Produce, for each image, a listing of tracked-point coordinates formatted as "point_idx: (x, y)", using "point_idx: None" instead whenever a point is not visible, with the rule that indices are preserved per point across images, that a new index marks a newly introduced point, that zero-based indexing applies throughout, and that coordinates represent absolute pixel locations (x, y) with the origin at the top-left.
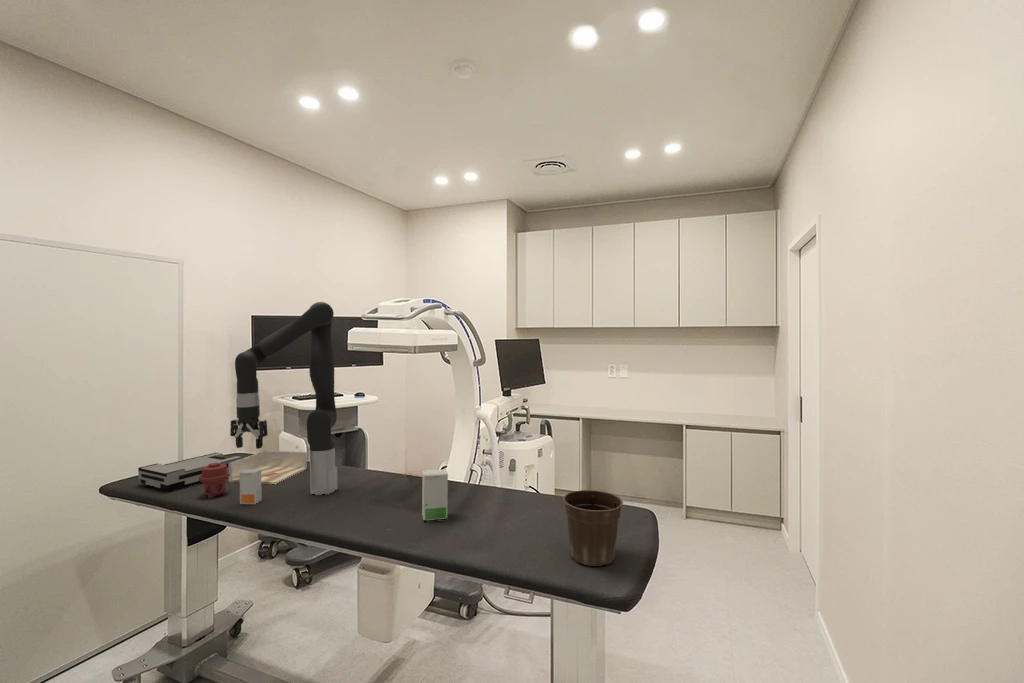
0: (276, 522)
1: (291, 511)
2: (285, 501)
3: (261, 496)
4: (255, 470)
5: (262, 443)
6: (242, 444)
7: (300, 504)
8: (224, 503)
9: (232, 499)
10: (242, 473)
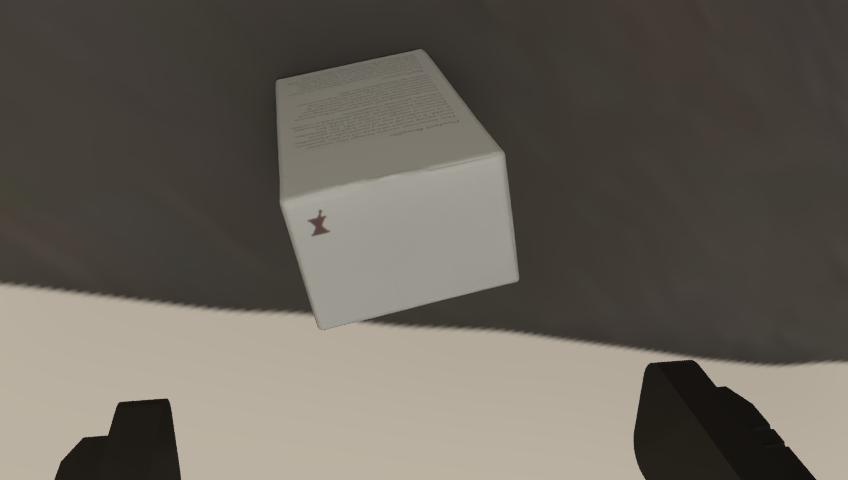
0: (802, 361)
1: (815, 194)
2: (657, 16)
3: (431, 59)
4: (464, 216)
5: (769, 430)
6: (161, 430)
7: (821, 52)
8: (131, 186)
9: (103, 82)
10: (357, 317)
